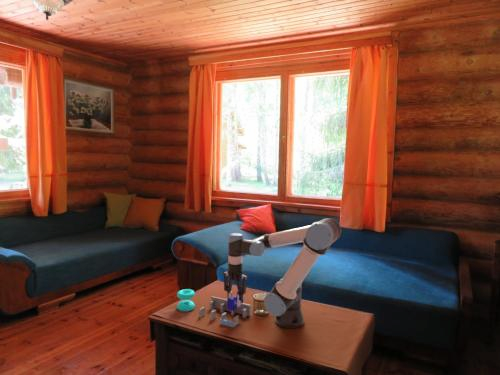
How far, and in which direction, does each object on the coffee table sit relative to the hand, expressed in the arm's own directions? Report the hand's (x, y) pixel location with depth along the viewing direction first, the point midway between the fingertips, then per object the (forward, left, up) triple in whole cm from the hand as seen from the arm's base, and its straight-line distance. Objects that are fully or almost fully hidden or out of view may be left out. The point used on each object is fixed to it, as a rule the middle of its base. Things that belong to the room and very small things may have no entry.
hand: (234, 304), depth 196 cm
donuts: (+31, +2, -8) cm, 32 cm away
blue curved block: (0, 0, 0) cm, 1 cm away
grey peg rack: (+7, 0, -8) cm, 11 cm away
